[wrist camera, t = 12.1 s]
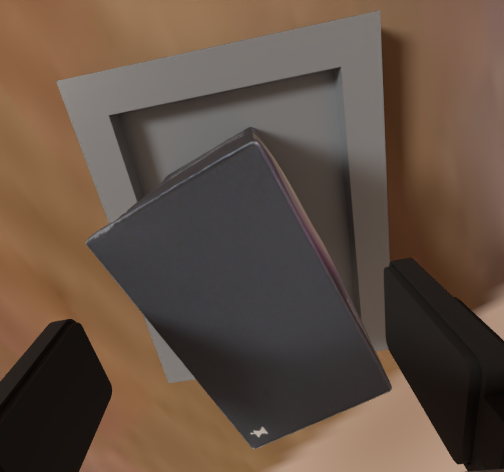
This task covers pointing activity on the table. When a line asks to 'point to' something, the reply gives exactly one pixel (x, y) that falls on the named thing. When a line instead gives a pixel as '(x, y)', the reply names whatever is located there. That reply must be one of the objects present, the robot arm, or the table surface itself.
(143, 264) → the small box
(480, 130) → the table surface
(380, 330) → the tray
